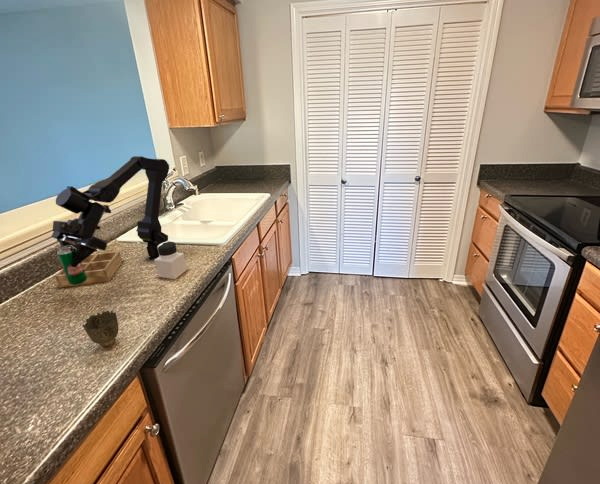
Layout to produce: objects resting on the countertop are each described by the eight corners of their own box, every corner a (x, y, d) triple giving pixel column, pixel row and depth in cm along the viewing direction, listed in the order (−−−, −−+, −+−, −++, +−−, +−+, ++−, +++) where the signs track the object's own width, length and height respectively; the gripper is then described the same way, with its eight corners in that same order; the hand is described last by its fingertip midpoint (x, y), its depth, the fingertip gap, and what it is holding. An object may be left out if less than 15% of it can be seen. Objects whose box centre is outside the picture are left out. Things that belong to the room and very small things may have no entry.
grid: (122, 261, 129) (119, 250, 127) (109, 280, 115) (105, 269, 113) (78, 266, 127) (74, 256, 125) (59, 287, 112) (54, 276, 110)
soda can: (74, 287, 100) (60, 253, 95) (66, 283, 103) (52, 249, 98) (90, 279, 104) (78, 246, 99) (83, 276, 107) (70, 243, 102)
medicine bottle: (187, 270, 120) (181, 240, 115) (174, 279, 113) (167, 248, 109) (171, 267, 122) (164, 238, 117) (158, 277, 116) (150, 246, 111)
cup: (100, 335, 87) (91, 311, 84) (128, 332, 88) (120, 308, 85) (86, 355, 81) (76, 329, 77) (116, 352, 81) (107, 327, 78)
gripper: (46, 206, 101) (21, 252, 96) (85, 211, 94) (60, 262, 89) (79, 220, 111) (58, 263, 106) (117, 226, 103) (95, 273, 99)
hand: (67, 265), depth 100 cm, fingers closed on soda can, 5 cm apart
